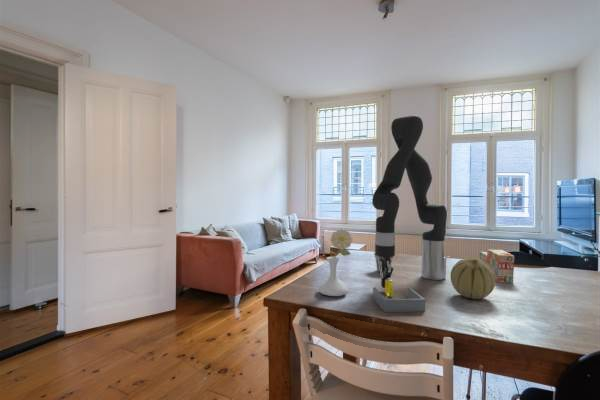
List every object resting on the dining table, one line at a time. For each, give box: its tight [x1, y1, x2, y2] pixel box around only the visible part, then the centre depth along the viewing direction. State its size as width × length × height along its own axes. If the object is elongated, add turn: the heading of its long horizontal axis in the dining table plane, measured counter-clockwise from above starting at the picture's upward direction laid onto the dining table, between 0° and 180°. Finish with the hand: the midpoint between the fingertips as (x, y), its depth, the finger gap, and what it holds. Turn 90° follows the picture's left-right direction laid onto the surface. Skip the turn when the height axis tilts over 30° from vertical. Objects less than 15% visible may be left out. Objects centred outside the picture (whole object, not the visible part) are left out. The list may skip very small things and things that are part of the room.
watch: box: [384, 278, 394, 298], centre depth 116 cm, size 6×3×6 cm, turn 0°
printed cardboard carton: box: [479, 248, 515, 284], centre depth 142 cm, size 21×6×12 cm, turn 168°
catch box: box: [372, 286, 426, 313], centre depth 107 cm, size 14×13×4 cm
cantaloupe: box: [450, 257, 496, 300], centre depth 114 cm, size 15×15×15 cm
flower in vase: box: [317, 228, 353, 297], centre depth 117 cm, size 13×11×25 cm
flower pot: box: [373, 252, 394, 273], centre depth 150 cm, size 9×9×9 cm
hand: (384, 287), depth 121 cm, fingers closed
